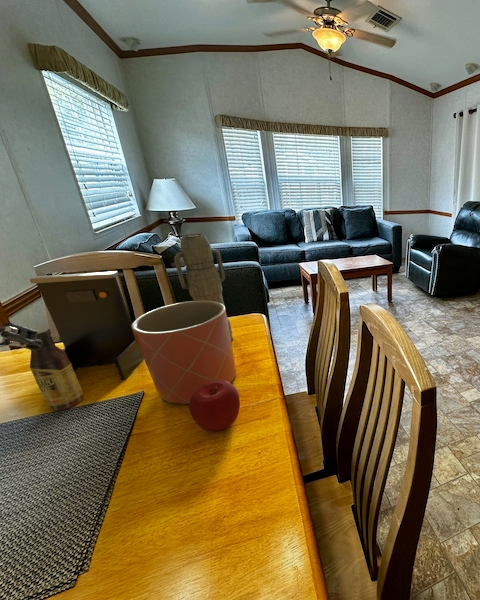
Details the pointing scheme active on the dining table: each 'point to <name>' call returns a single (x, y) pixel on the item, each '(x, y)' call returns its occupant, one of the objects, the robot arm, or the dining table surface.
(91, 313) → the dispenser
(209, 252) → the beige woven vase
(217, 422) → the apple
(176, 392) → the planter
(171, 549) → the dining table surface
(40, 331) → the sauce bottle
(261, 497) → the dining table surface
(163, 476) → the dining table surface
